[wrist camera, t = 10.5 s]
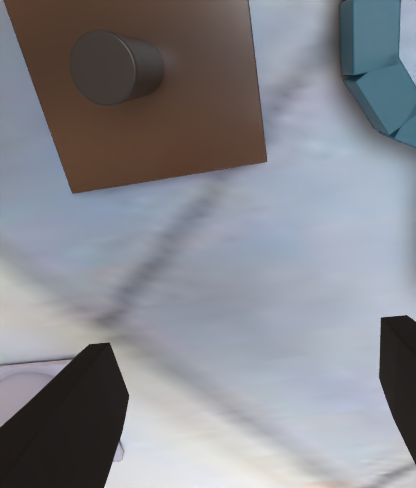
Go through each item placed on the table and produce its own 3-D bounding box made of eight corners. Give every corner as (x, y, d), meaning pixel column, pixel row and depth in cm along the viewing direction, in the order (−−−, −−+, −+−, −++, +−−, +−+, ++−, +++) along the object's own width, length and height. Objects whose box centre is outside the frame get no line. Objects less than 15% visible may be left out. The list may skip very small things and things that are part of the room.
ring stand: (265, 156, 17) (276, 194, 12) (82, 186, 18) (22, 232, 13) (236, -97, 13) (233, -199, 8) (6, -35, 14) (-118, -89, 9)
